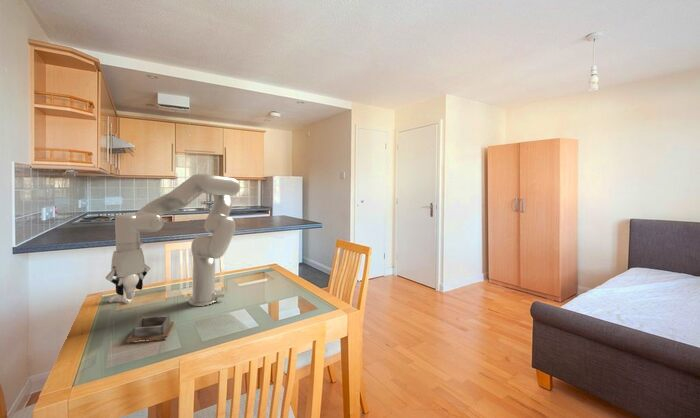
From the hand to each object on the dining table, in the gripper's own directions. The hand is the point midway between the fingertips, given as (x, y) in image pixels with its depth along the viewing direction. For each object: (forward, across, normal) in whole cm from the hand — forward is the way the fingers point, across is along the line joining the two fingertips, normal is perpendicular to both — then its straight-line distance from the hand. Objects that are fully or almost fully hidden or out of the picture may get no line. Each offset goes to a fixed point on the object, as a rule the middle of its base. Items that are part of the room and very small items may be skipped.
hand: (129, 291), depth 121 cm
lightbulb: (+3, 0, 0) cm, 3 cm away
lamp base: (+13, +1, +15) cm, 20 cm away
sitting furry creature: (+13, -12, -26) cm, 31 cm away
